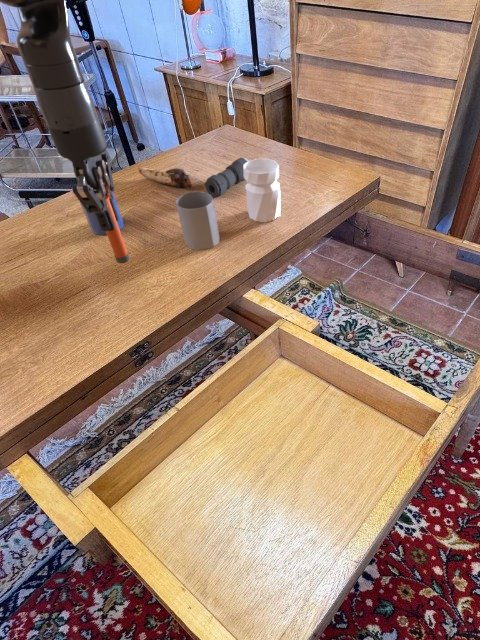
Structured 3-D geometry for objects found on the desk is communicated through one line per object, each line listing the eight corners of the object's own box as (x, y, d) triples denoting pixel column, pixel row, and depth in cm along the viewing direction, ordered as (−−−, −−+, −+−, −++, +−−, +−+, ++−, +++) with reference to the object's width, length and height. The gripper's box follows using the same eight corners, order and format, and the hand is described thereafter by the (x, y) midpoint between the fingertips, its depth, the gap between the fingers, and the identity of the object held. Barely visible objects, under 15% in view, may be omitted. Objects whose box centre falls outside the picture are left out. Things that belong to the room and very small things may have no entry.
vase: (279, 222, 112) (277, 174, 103) (246, 222, 113) (240, 173, 103) (282, 205, 118) (280, 158, 109) (250, 205, 118) (245, 158, 109)
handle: (115, 263, 84) (91, 202, 75) (118, 255, 86) (95, 194, 77) (128, 263, 84) (106, 201, 75) (131, 255, 86) (110, 194, 77)
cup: (182, 235, 109) (172, 195, 101) (214, 228, 111) (207, 188, 103) (189, 253, 104) (180, 212, 96) (223, 245, 106) (216, 204, 98)
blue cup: (88, 235, 110) (73, 200, 103) (96, 219, 115) (82, 184, 108) (120, 234, 110) (107, 199, 103) (127, 218, 115) (115, 183, 108)
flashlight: (220, 201, 120) (216, 181, 116) (205, 196, 122) (201, 176, 118) (253, 178, 128) (251, 159, 124) (238, 174, 130) (236, 155, 126)
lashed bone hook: (204, 181, 129) (155, 169, 134) (202, 164, 125) (151, 152, 130) (185, 194, 123) (134, 180, 128) (182, 177, 120) (130, 163, 125)
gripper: (60, 102, 71) (99, 207, 84) (30, 136, 62) (79, 247, 75) (107, 101, 71) (139, 206, 84) (83, 134, 62) (123, 246, 75)
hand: (110, 225), depth 80 cm, fingers closed on handle, 2 cm apart
